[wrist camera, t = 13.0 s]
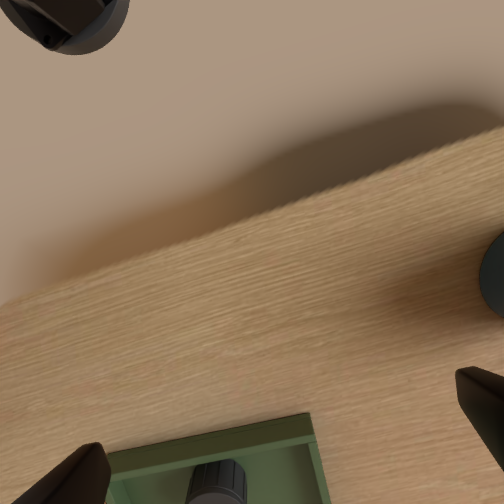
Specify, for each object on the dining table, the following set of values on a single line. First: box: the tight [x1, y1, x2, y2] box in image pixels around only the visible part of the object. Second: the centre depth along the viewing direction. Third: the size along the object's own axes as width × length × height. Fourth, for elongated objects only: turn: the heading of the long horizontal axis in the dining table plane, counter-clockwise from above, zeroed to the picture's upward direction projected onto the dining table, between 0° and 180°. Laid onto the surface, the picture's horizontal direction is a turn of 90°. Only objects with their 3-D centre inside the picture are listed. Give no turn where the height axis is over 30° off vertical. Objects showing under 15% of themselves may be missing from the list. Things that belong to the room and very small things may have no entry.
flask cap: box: [185, 458, 247, 504], centre depth 22 cm, size 4×4×3 cm
